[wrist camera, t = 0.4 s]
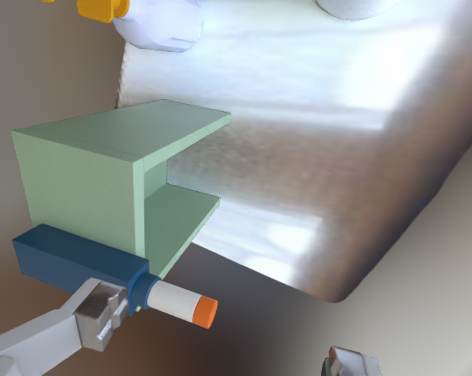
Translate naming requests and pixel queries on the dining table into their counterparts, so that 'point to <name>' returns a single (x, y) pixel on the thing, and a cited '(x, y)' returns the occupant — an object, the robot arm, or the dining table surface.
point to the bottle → (105, 272)
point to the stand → (119, 177)
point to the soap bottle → (149, 21)
